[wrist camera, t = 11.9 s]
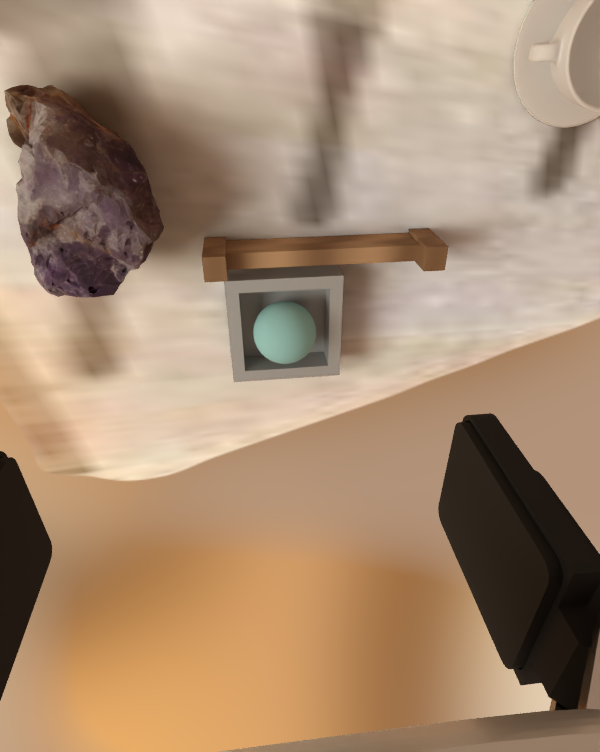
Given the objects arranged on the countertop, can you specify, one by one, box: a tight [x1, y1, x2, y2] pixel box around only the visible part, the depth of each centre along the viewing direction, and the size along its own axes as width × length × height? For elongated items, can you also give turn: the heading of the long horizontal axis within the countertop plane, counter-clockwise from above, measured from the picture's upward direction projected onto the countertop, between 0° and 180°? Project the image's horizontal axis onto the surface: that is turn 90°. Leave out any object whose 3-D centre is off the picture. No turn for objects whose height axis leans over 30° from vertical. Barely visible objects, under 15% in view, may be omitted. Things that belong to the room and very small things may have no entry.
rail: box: [202, 228, 448, 282], centre depth 38 cm, size 18×2×4 cm, turn 90°
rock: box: [5, 85, 164, 297], centre depth 32 cm, size 12×9×10 cm
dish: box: [224, 265, 344, 382], centre depth 41 cm, size 9×9×3 cm
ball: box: [253, 301, 316, 364], centre depth 40 cm, size 5×5×5 cm
